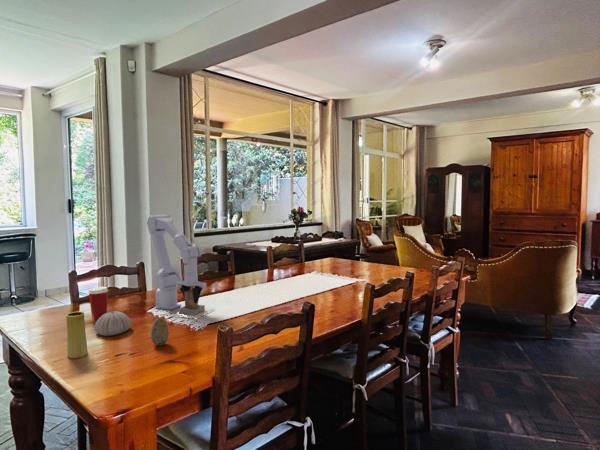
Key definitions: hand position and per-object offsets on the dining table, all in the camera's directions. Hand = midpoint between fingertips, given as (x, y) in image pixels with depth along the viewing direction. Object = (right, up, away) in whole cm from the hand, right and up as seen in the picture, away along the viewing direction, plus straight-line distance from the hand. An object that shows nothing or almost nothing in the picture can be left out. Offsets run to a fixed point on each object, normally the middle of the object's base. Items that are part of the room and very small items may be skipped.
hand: (191, 302), depth 183 cm
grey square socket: (0, -6, 0) cm, 6 cm away
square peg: (0, -3, 0) cm, 3 cm away
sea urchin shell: (-25, -8, -22) cm, 34 cm away
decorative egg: (-2, -8, -37) cm, 38 cm away
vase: (-27, -9, -45) cm, 53 cm away
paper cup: (-37, -6, -9) cm, 39 cm away
